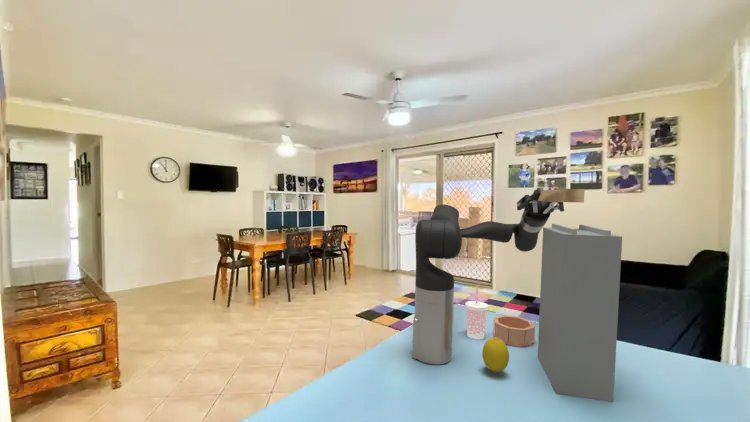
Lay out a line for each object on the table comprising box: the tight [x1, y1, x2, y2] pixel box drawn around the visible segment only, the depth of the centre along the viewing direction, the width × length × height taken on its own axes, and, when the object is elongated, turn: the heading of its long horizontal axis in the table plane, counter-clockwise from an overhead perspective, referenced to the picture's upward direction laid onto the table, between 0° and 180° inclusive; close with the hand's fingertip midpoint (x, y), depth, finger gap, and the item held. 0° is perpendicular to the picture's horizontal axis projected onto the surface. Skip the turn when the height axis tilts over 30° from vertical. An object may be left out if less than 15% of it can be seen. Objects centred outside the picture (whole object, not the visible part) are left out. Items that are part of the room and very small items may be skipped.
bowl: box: [492, 314, 536, 348], centre depth 90 cm, size 10×10×5 cm
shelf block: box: [537, 223, 623, 403], centre depth 71 cm, size 10×15×33 cm, turn 166°
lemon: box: [481, 336, 510, 374], centre depth 73 cm, size 6×6×8 cm
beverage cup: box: [464, 285, 489, 340], centre depth 92 cm, size 6×6×14 cm
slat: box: [537, 188, 586, 204], centre depth 85 cm, size 4×26×3 cm, turn 166°
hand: (547, 190), depth 93 cm, fingers closed on slat, 4 cm apart
